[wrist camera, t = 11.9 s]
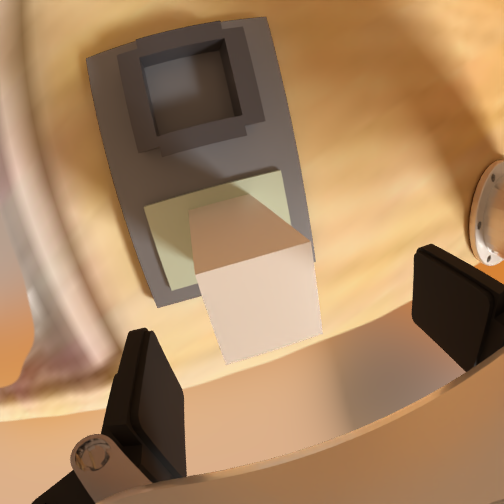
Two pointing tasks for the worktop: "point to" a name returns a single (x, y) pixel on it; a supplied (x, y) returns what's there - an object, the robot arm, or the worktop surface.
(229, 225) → the plug
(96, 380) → the worktop surface
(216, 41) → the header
